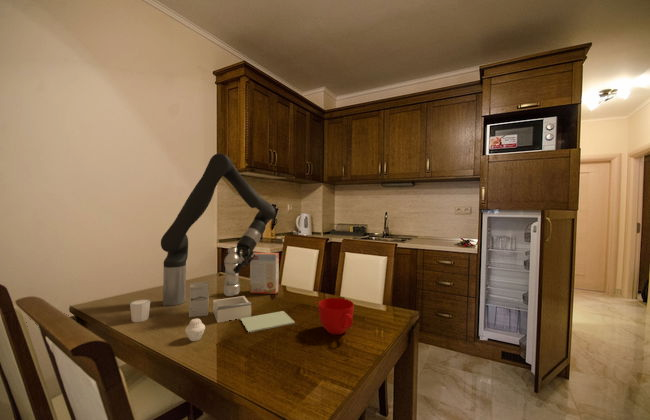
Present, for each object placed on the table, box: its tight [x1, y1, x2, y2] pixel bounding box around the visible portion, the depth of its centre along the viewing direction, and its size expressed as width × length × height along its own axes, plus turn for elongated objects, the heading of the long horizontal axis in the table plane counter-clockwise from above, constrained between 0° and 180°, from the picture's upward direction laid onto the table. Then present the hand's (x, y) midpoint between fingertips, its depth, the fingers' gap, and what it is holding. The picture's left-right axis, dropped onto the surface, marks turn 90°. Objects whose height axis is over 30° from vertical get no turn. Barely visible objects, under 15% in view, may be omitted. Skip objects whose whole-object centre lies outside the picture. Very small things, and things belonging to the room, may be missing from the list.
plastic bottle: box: [223, 246, 241, 297], centre depth 116 cm, size 6×7×20 cm
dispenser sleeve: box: [212, 295, 252, 324], centre depth 116 cm, size 13×13×6 cm
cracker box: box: [249, 252, 280, 295], centre depth 147 cm, size 14×6×21 cm, turn 84°
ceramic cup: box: [318, 297, 355, 335], centre depth 100 cm, size 13×17×10 cm
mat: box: [239, 310, 296, 334], centre depth 109 cm, size 18×13×1 cm
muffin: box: [184, 317, 206, 342], centre depth 94 cm, size 6×6×7 cm
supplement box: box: [188, 281, 210, 319], centre depth 117 cm, size 7×7×13 cm
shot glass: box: [129, 298, 151, 323], centre depth 110 cm, size 7×7×7 cm
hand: (229, 271), depth 115 cm, fingers closed on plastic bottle, 6 cm apart
